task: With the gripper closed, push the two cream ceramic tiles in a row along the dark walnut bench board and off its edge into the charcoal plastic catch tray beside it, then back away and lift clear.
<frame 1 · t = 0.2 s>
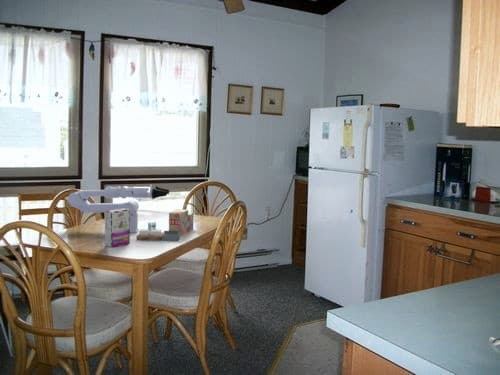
hand: (167, 192, 249), 21 cm above the table, tool horizontal, fingers open, 7 cm apart
tile 2: (155, 234, 235), point 2 cm above the table, touching bench board
stack of blocks: (181, 233, 253), on the table
bench board: (150, 238, 236), on the table
tile 1: (144, 234, 235), point 2 cm above the table, touching bench board
catch tray: (171, 238, 236), on the table
candy bar box: (117, 245, 219), on the table
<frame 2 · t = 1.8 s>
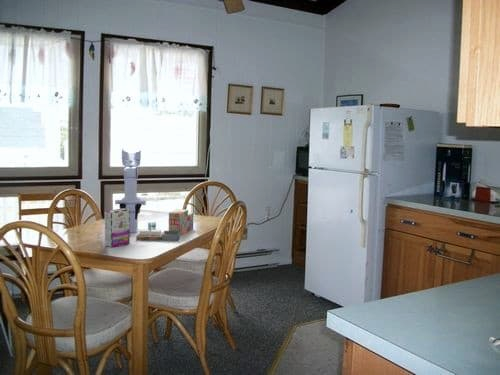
hand: (130, 219, 234), 9 cm above the table, tool pointing down, fingers open, 5 cm apart
nothing on the table moved.
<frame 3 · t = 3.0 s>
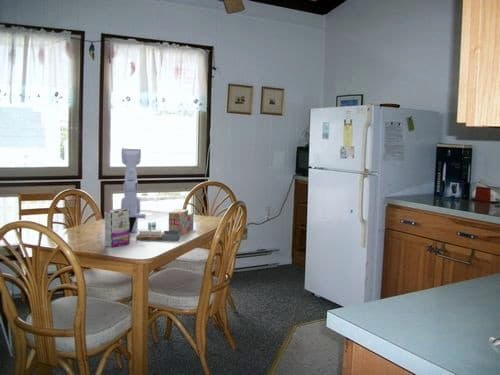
hand: (130, 232, 235), 3 cm above the table, tool pointing down, fingers closed
nothing on the table moved.
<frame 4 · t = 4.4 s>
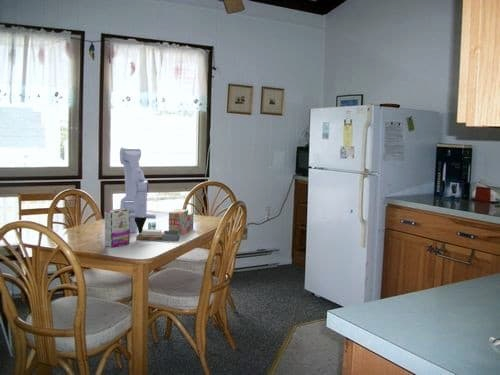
hand: (140, 232, 235), 3 cm above the table, tool pointing down, fingers closed
tile 1: (147, 234, 235), point 2 cm above the table, touching bench board, gripper
everything else where it was.
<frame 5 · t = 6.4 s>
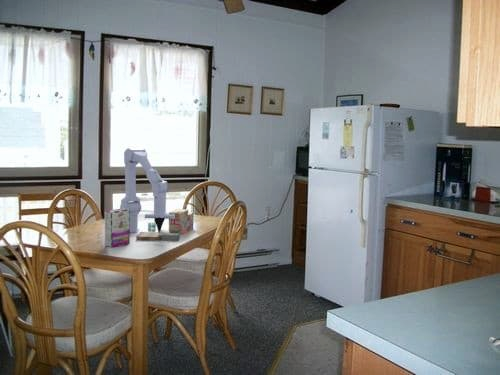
hand: (159, 232, 235), 3 cm above the table, tool pointing down, fingers closed, pressing on tile 1
tile 2: (173, 238, 236), resting on catch tray, touching tile 1
tile 1: (164, 235, 236), point 2 cm above the table, tilted 11°, touching bench board, tile 2, gripper
everything else where it was.
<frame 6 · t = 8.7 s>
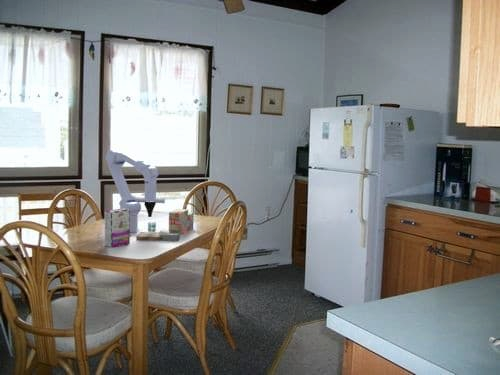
hand: (149, 216, 243), 9 cm above the table, tool pointing down, fingers closed
tile 1: (164, 235, 236), point 2 cm above the table, tilted 12°, touching bench board, tile 2
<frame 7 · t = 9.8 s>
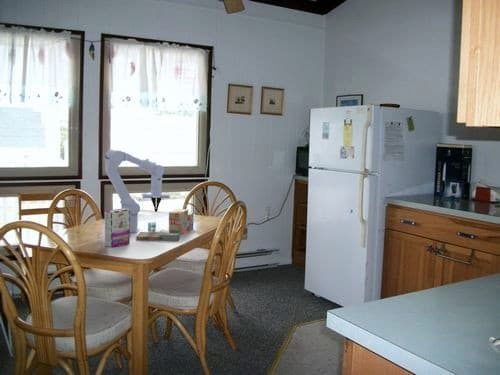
hand: (156, 211, 260), 9 cm above the table, tool pointing down, fingers closed
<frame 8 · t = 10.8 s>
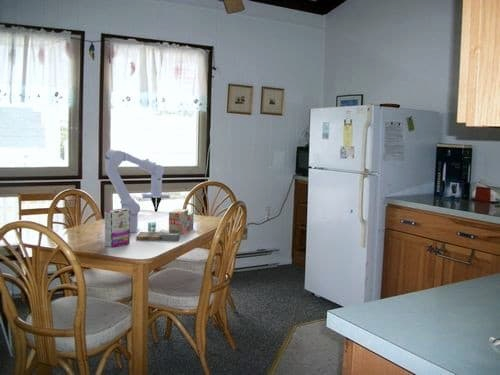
hand: (156, 211, 260), 9 cm above the table, tool pointing down, fingers closed
at the end: tile 2 inside the target area on the catch tray (1.1 cm from its centre), point 0.4 cm above the catch tray's base; tile 1 inside the target area on the catch tray (3.6 cm from its centre), point 1.8 cm above the catch tray's base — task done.
